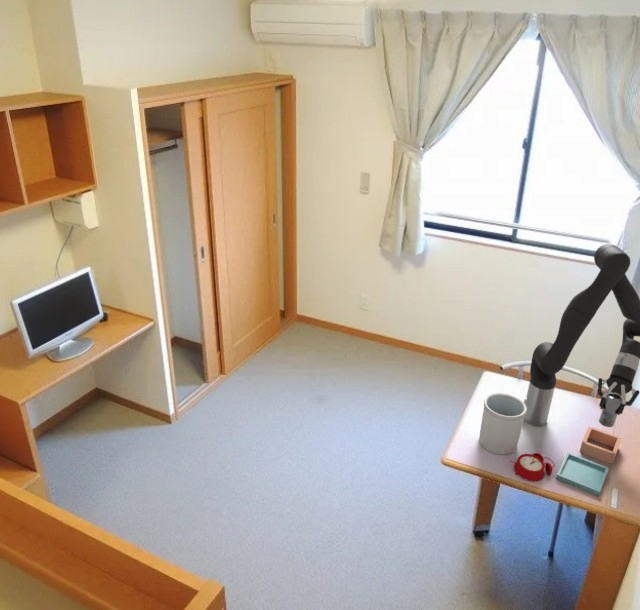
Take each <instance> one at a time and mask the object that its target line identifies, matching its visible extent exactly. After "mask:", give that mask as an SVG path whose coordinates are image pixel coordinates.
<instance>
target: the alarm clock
mask: <svg viewBox="0 0 640 610" xmlns="http://www.w3.org/2000/svg"><path fill="white" fill-rule="evenodd" d="M545 459H548V460H549V461H551V463H552V464H553V466H552V464H551V463H550V462H546V463H545V462H544V460H545ZM509 463H514V464H513V471H514V474H515V476H519V477H520V478H522V479H523V480H525V481H529V482H539V481H542V480H543V479H544V478H545V476H546V475H545V474H546V472H547V473H548V476H552V473H553V469H554V467H555V466H556V465H555V462H554V461H553V460H552V459H551V458H549V457H545V456H543V455H542V454H541V453H539V452H535V453H533V454H531V453H523V454H520V455H518V457H517V459H516V461H512V460H510V461H509Z"/></svg>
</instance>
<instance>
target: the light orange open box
mask: <svg viewBox="0 0 640 610" xmlns="http://www.w3.org/2000/svg"><path fill="white" fill-rule="evenodd" d="M589 440H593V441H595V442H598V443H601V444H603V445H606V446H609V447H612V448H613V450H611V449H610V450H609V449H607V448H604V447H601V446H599V445H597V444H593V443H591V442H589ZM621 442H622V438H621V437H619V436H618V435H615V434H613V433H610V432H607V431H604V430H601V429H598V428H596V427H593V426H592V427H591V426H588V427H587V430H586V433H585V434H584V436H583V439H582V441H581V445H580V448H579V452H580V453H581V452H582V454H584V455H587V456H589V457H592V458H594V459H597V460H600V461H603V462H605V463H608V464H610V463H611V464H613V463H614V461H615V459H616V455H617V453H618V450H619V446H620V444H621Z"/></svg>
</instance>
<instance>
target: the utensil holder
mask: <svg viewBox="0 0 640 610" xmlns="http://www.w3.org/2000/svg"><path fill="white" fill-rule="evenodd" d="M526 411H527V407H526V405H525V403H524V400H523V399H522V400H521V398H520V397H517V396H514V395H512V394H508V393H504V392H503V393H502V392H494V393H490V394H488V395H487V396H485V398H484V401H483V412H482V417H481V424H480V430H479V443H480V445H481V446H482V447H483V448H484V449H485V450H487V451H488V452H490V453H492V454H496V455H510V454H512V453H514V452H515V451H516V450H517V448H518V444H519V439H520V436H521V432H522V428H523V424H524V422H525V421H524V416H525V414H526Z"/></svg>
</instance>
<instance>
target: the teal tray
mask: <svg viewBox="0 0 640 610" xmlns="http://www.w3.org/2000/svg"><path fill="white" fill-rule="evenodd" d="M609 469H610V468H609V467H607V466H605V465H603V464H599V463H597V462H594V461H592V460H589V459H587V458H584V457H581V456H580V455H576V454H574V453H570V452H566V454H565V456H564V458H563V461H562V463H561V466H559V469H558V471H557V474H556V477H555V480H558V481H559V482H562V483H565V484H567V485H569V486H572V487H575V488H577V489H580V490H582V491H585V492H587V493H589V494H592V495H594V496H597V497H599V496H600V494H601V491H602V489H603V485H604V482H605V480H606V477H607V474H608V471H609Z"/></svg>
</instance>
